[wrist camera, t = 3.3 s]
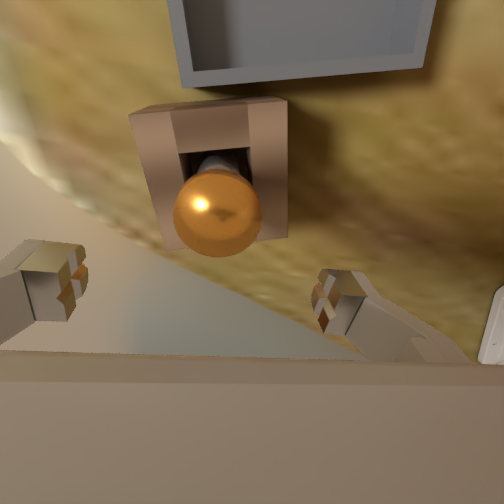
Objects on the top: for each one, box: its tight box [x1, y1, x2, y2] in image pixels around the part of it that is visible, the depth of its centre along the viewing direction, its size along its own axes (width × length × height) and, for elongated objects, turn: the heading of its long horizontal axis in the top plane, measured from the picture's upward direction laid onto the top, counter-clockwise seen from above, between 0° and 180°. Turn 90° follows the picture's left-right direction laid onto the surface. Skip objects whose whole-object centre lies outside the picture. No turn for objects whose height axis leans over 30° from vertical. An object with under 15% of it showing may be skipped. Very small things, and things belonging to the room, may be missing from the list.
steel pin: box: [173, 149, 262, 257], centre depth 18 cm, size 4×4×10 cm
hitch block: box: [128, 95, 288, 251], centre depth 21 cm, size 9×9×6 cm
